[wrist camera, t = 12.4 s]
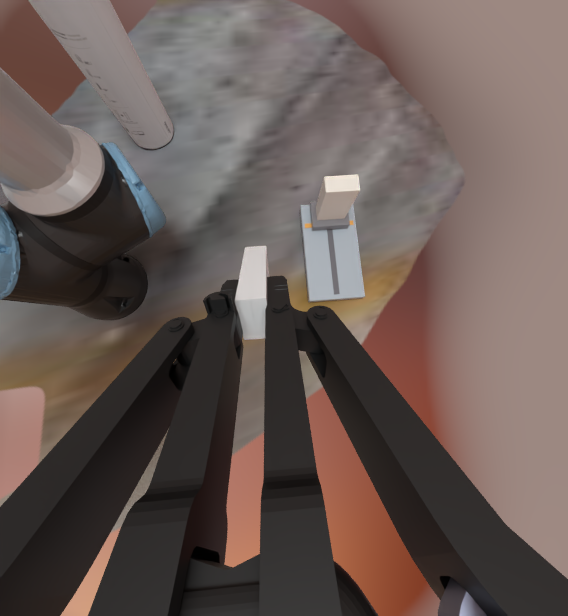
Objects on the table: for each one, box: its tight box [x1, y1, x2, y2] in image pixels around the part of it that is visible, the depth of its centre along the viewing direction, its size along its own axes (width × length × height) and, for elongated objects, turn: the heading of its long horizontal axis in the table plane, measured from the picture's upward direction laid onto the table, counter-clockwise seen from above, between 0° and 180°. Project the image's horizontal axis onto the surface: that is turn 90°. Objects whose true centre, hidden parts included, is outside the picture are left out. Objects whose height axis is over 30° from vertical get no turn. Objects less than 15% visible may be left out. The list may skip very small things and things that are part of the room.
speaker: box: [28, 0, 174, 149], centre depth 39 cm, size 11×10×26 cm
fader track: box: [300, 204, 365, 302], centre depth 47 cm, size 12×22×2 cm, turn 5°
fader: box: [310, 175, 360, 231], centre depth 42 cm, size 8×6×10 cm
